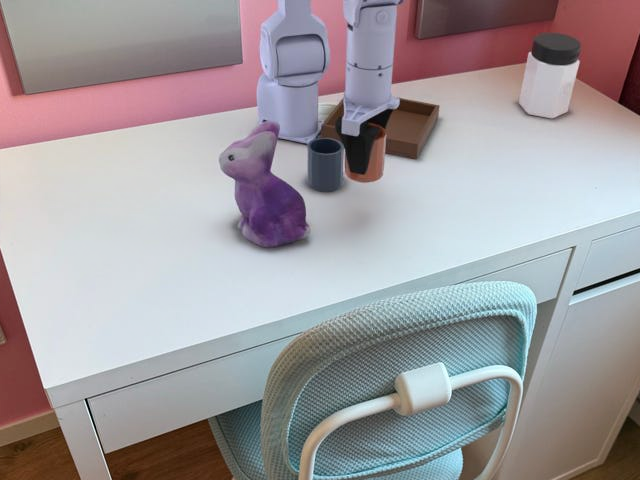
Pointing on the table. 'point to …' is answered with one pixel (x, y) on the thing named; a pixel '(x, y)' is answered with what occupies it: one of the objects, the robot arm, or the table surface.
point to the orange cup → (372, 160)
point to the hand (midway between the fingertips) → (364, 162)
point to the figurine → (263, 190)
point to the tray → (397, 126)
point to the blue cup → (325, 164)
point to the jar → (550, 75)
